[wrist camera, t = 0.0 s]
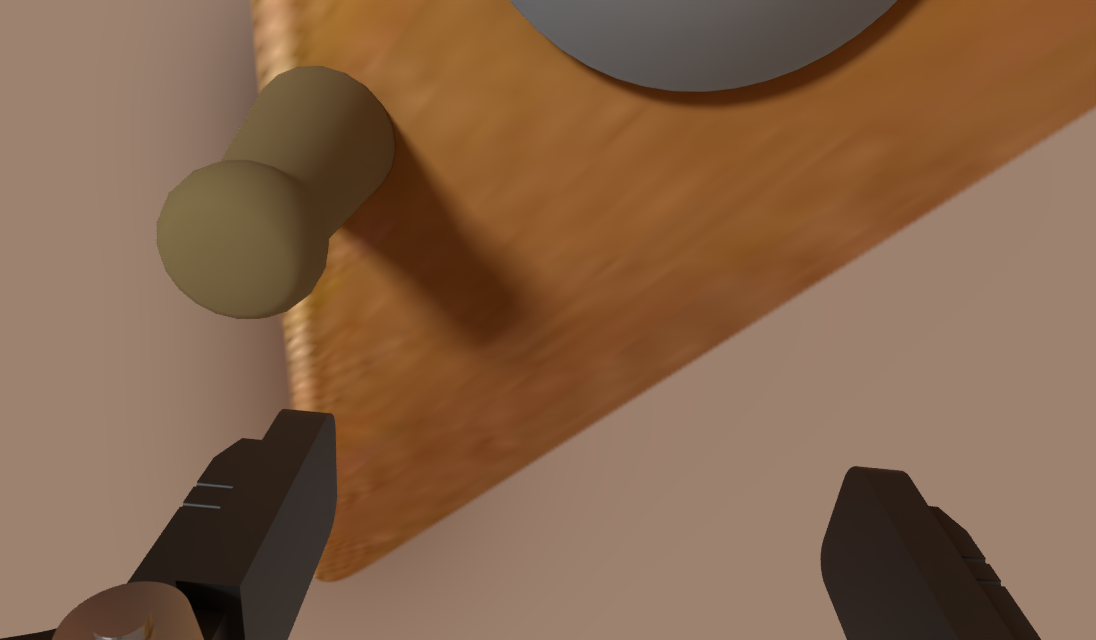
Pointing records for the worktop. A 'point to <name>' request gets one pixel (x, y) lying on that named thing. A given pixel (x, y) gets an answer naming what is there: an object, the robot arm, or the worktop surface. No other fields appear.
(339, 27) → the worktop surface
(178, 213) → the cork
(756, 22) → the slate plate
